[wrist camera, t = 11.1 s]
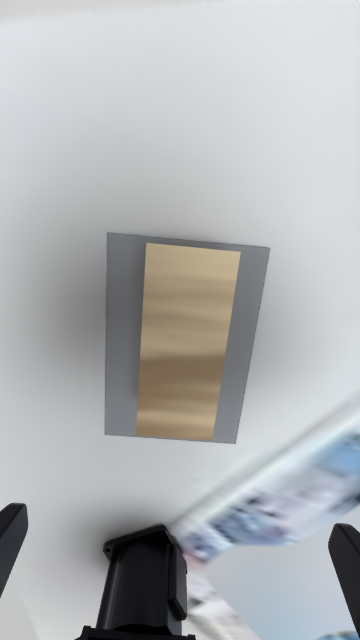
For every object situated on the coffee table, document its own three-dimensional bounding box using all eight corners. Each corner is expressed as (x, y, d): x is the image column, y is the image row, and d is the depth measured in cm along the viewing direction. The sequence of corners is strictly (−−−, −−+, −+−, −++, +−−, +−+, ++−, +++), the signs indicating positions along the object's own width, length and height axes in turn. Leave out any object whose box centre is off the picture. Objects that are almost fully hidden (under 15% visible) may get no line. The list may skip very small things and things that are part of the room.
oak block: (212, 440, 17) (240, 251, 14) (135, 435, 17) (146, 242, 13) (205, 404, 21) (226, 251, 17) (143, 400, 20) (153, 244, 17)
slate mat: (234, 440, 22) (235, 443, 22) (106, 431, 22) (104, 434, 21) (268, 248, 18) (270, 248, 17) (108, 232, 17) (107, 232, 17)
